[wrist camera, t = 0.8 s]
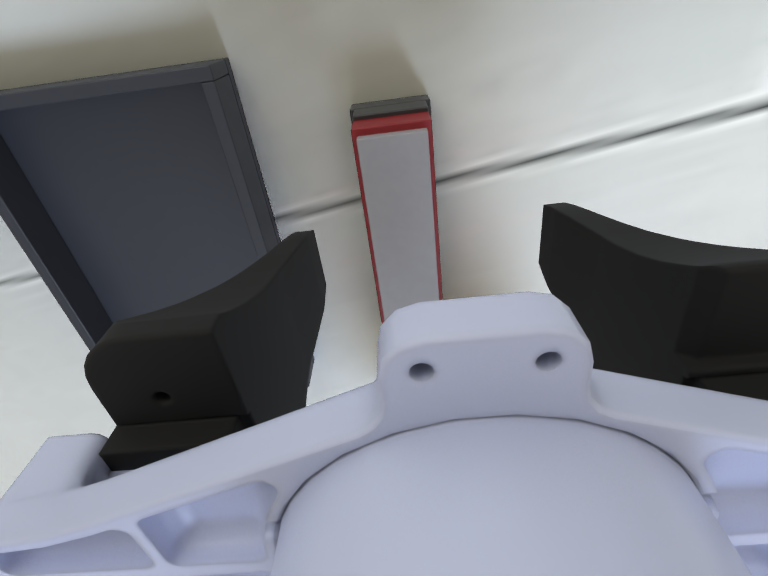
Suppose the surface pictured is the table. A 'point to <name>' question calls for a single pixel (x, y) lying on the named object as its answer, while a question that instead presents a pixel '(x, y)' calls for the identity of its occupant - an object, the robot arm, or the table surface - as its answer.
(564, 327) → the robot arm
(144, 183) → the tray
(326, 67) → the table surface
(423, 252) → the red and grey slab
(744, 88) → the table surface
